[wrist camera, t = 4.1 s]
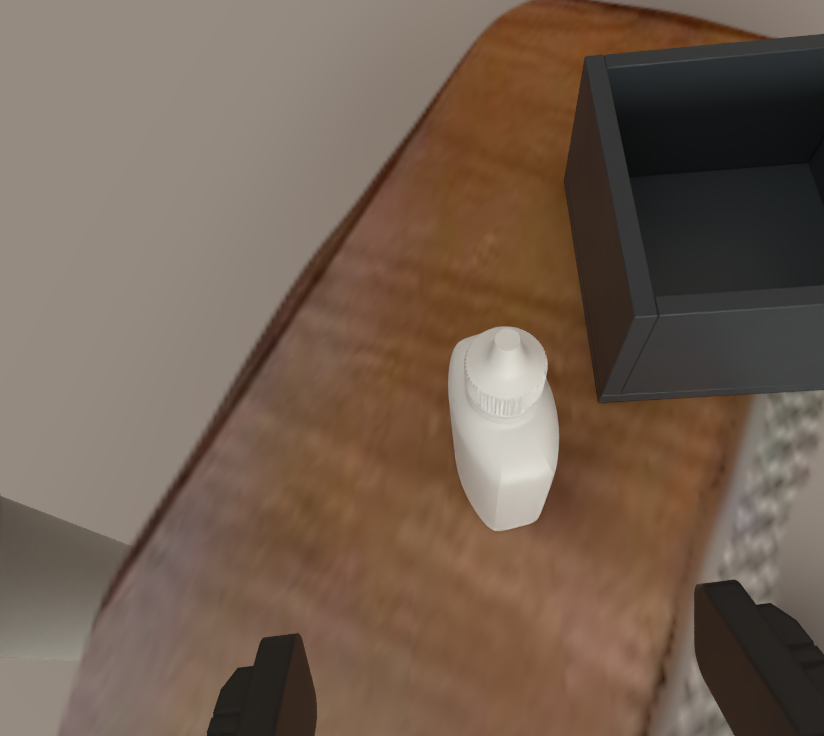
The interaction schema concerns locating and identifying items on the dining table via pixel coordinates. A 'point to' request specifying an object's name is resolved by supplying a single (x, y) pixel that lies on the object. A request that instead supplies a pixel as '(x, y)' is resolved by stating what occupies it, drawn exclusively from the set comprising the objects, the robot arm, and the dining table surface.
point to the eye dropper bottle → (503, 425)
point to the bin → (701, 218)
